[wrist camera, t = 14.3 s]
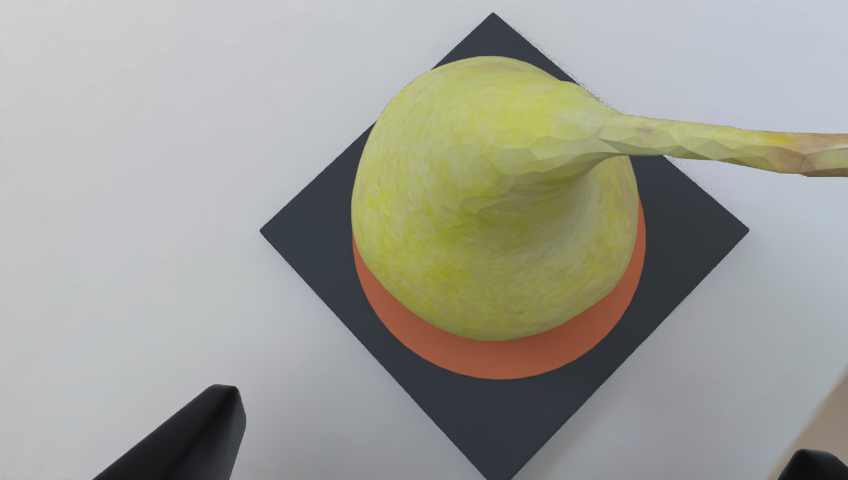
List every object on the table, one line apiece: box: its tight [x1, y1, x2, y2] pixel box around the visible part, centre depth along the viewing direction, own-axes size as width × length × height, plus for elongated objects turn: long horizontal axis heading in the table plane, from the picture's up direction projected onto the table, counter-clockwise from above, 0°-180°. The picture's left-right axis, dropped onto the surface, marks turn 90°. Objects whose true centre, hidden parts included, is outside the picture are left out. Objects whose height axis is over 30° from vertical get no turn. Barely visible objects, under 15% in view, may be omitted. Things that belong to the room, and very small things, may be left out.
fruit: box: [351, 56, 848, 341], centre depth 11 cm, size 7×8×12 cm
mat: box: [260, 13, 749, 480], centre depth 17 cm, size 11×11×1 cm
